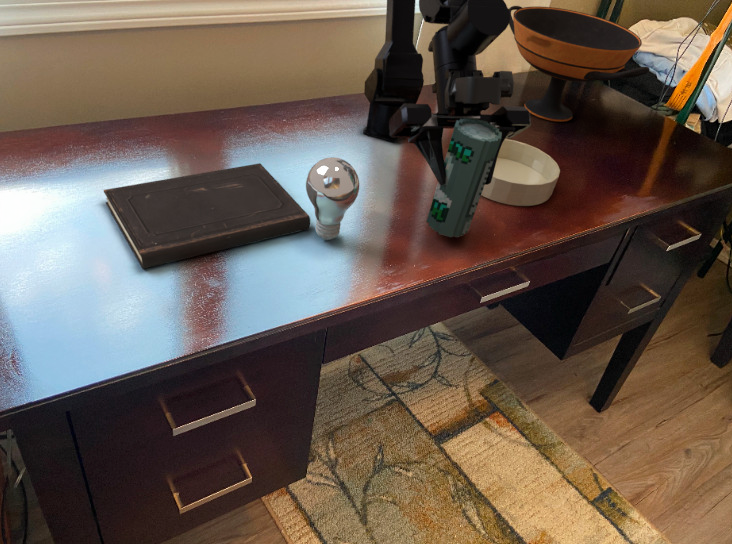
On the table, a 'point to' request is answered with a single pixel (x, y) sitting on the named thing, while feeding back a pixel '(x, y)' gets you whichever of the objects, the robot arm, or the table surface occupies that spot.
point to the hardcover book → (203, 213)
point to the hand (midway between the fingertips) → (465, 184)
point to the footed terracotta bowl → (571, 52)
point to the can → (463, 176)
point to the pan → (522, 175)
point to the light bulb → (331, 194)
